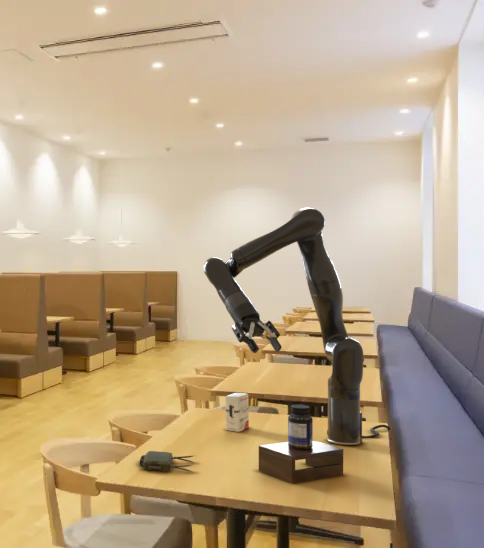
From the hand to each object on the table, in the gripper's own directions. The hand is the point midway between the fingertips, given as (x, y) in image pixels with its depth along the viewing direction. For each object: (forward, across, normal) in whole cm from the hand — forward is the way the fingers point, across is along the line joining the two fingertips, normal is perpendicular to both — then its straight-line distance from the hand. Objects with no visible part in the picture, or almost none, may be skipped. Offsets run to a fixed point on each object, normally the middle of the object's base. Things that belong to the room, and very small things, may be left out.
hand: (268, 350), depth 214 cm
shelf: (+35, -6, +8) cm, 36 cm away
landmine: (+21, -34, +23) cm, 46 cm away
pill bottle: (+30, -6, +4) cm, 31 cm away
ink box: (+1, +14, +43) cm, 45 cm away
